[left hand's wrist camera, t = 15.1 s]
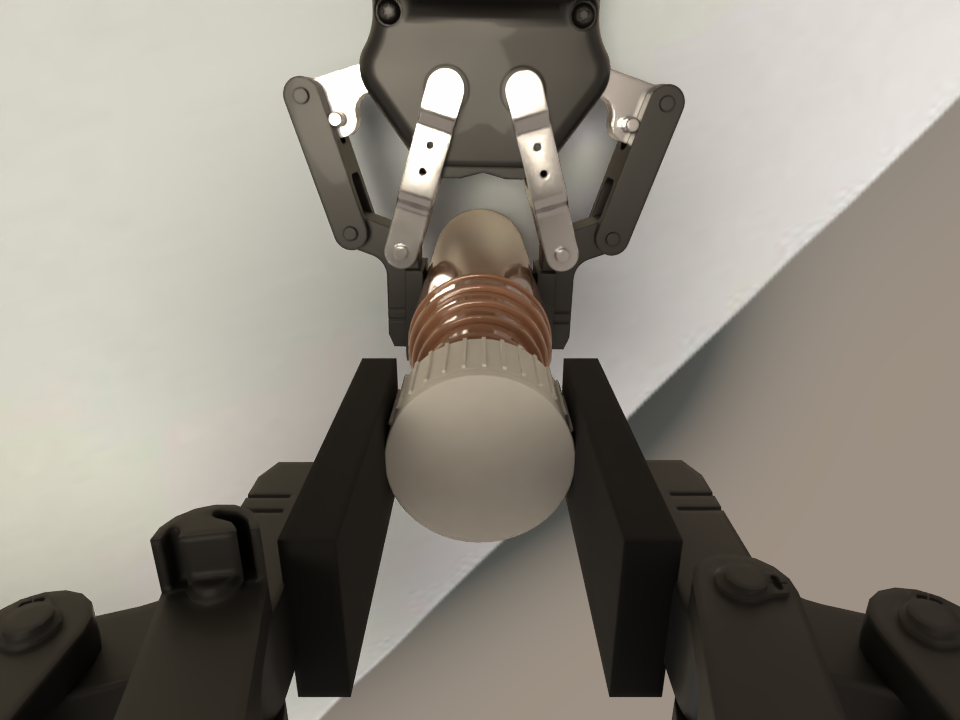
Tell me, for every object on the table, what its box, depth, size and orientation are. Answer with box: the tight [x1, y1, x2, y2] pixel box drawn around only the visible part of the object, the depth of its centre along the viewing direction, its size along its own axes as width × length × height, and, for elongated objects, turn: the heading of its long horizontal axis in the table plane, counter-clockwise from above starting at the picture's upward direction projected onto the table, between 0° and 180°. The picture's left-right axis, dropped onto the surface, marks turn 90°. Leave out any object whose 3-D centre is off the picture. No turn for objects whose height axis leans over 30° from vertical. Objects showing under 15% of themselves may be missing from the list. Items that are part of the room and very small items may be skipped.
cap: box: [385, 337, 575, 542], centre depth 14 cm, size 4×4×2 cm
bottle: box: [408, 209, 552, 370], centre depth 22 cm, size 4×4×19 cm
